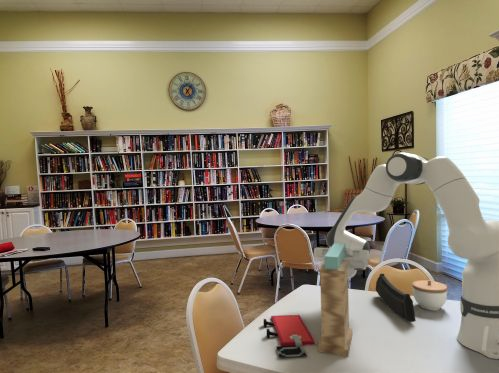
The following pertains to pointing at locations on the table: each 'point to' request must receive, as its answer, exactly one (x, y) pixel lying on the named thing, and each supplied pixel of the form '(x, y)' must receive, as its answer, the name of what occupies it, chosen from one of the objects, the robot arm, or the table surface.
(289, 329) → the red board with handle
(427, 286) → the lidded bowl
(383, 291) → the magazine
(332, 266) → the rod
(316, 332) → the table surface
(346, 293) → the pedestal
